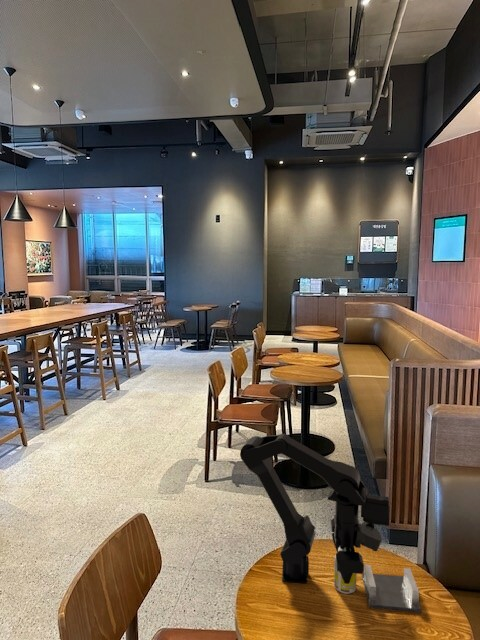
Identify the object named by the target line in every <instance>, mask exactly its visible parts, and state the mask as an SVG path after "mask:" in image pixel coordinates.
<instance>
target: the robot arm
mask: <svg viewBox="0 0 480 640" xmlns="http://www.w3.org/2000/svg"><path fill="white" fill-rule="evenodd" d="M276 455H284V456H285V457H287V458H289V459H291V460H292V461H294V462H295V463H297V464H299V465H301V466H302V467H304V468H305V469H307V470H309V471H311V472H312V473H315V474H316V475H318V476H319V477H320V478H322V479H323V480H324V481H325V482H326V483H327V485H328V486H329V487H330V488H331V489H332V490H330V491H329V493H328V495H327V496H328V497H327V500H328V501H332V502H335V511H334V512H335V514H334V517H333V518H332V519H331V520H330V531H331V535H332V537H331V538H332V541H333V545H334V548H335V550H336V552H335V555H336V558H335V557H334V560H335V559H336V566H337V571H339V572H340V573H341V576H342V578H343V580H344V583H345V584H349V582H350V580H351V577H352V574H353V573H357V574H359V575H362V573H364V565H365V564H364V563H365V562H364V560H363V556H362V555H361V553H360V552H359V551H356V550H355V548H357V549H361V546H363V547H365V548H368V549H370V550H372V551H373V552H378V550H379V548H380V545H381V544H382V541H383V539H382V535H381V533H380V531H379V530H378V528H376V527H375V525H377V526H383V527H388V528H390V497H388V496H385V495H383V496H382V495H381V496H379V495H374V494H369V493H368V488H367V487H366V486H365V483H364V482H363V481H362V480H361V475H360V472H359V470H358V469H357V468H356V467H355V466H353V465H350V464H347V463H346V462H342V461H338V460H337V461H336V460H331V459H329V458H327V457H326V456H323V455H322V454H320V453H318V452H316V451H315V450H313V449H311V448H309V447H307V446H306V445H304V444H303V443H301V442H299V441H297V440H295V439H294V438H292V437H290V435H288V434H286V433H280V434H276V435H274V434H273V435H271V434H270V435H265V436H251V437H250V438H249V439H248V440H247V441H246V443H245V444H244V445H242V447H241V449H240V453H239V456H240V459H241V461H242V462H243V463H244V465H245V466H246V468H247V469H248V470H249V471H250V472H252V473H253V474H254V475H256V476H257V477H258V480H259V481H260V483H261V485H262V487H263V489H264V490H265V492H266V494H267V496H268V497H269V499H270V501H271V504H272V506H273V507H274V509H275V510H276V513H277V514H278V516H279V518H280V520H281V522H282V523H283V528H284V533H285V534H284V535H285V542H284V543H283V546H282V549H281V550H280V557H281V560H282V569H281V570H282V571H281V572H282V574H281V575H282V576H281V579H282V580H281V581H282V582H283V583H285V582H286V583H296V584H297V583H298V584H307V583H308V577H309V575H310V574H309V573H310V572H309V569H310V568H309V567H310V564H309V562H310V561H309V556H308V555H309V554H310V553H311V550H312V548H313V547H312V546H313V545H314V541H315V537H316V532H315V530H316V526H315V525H314V524H313V523H312V522H311V518H310V516H309V515H308V514H306V515H305V516H303V515H302V514H300V513H299V512H298V511H297V509H296V507H295V505H294V502H293V500H292V499H291V498H290V495H289V494H288V492H287V491H286V488H285V487H284V485H283V483H282V481H281V479H280V477H279V475H278V473H277V471H276V470H275V468H274V466H273V462H272V457H275V456H276ZM359 506H360V507H359ZM359 508H360V509H359ZM359 510H360V513H359ZM359 514H360V518H362V521H363V522H362V523H360V521H359ZM339 547H340V549H344V548H345V551H339V552H338V548H339ZM350 551H351V552H350Z"/></svg>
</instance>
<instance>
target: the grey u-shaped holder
mask: <svg viewBox="0 0 480 640" xmlns="http://www.w3.org/2000/svg"><path fill="white" fill-rule="evenodd" d="M361 578H362V582H363V586H364V591H365V594H366V600H367V604H368V608H369V609H374V610H385V611H386V610H387V611H393V612H395V611H397V612H404V613H405V612H407V613H418V614H421V613H422V607H421V605H420V601H419V597H420V596H419V594H420V591H419V588H418V585H417V582H416V580H415V577H414V575H413V573H412V569H411V568H410V567H403V575H392V574H390V575H389V574H381V573H380V574H379V573H373V571H372V566H371V564H364V573H362V574H361Z"/></svg>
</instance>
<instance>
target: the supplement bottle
mask: <svg viewBox="0 0 480 640" xmlns="http://www.w3.org/2000/svg"><path fill="white" fill-rule="evenodd" d="M339 551H345V548H344V549H340V547H339V548H338V552H339ZM350 552H351V551H350ZM335 558H336V554H335V555H334V573H333V574H334V575H333V578H334V580H333V581H334V582H333V583H334V584H333V585H334V588H335V589H336V590H337V591H338V592H339V593H342V594H347V595H349V594H352V593H354V592H355V591H356V589H357V574H358V573H353V574H352V577H351V580H350V582H349V584H345V583H344V580H343V578H342V576H341V573H340V572H339V571H337V566H336V559H335Z"/></svg>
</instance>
